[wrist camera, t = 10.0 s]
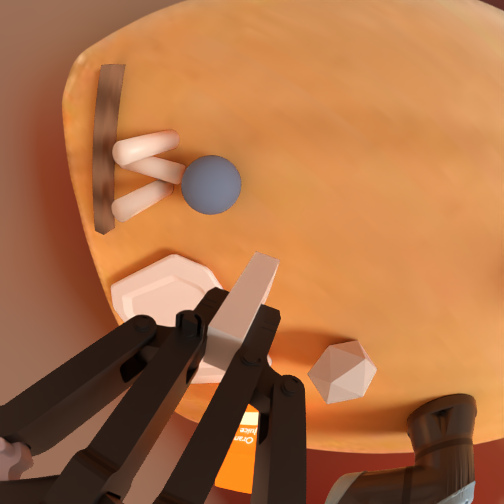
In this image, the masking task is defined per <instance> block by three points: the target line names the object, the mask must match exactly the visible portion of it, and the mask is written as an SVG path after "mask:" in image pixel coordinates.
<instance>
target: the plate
mask: <svg viewBox="0 0 504 504" xmlns="http://www.w3.org/2000/svg"><path fill="white" fill-rule="evenodd" d="M214 287H218V288H221V289H223V288H222V286H221V285H220V283H219V282H218V280H217V279H216V277H215V276H214V274H213V272H212V271H211V270H210V269H209V268H207V267H206V266H204V265H201V264H199V263H196V262H194V261H192V260H189V259H187V258H185V257H182V256H180V255H178V254H171V255H169V256H167V257H165V258H163V259H161V260H159V261H157V262H155V263H153V264H151V265H149V266H147V267H145V268H143V269H141V270H139V271H137V272H135V273H133V274H131V275H129V276H127V277H125V278H123V279H121V280H120V281H118V282H116V283H114V284H112V285H111V295H112V302H113V307H114V309H115V311H116V312H117V313H118V315H119V316H120V317H121V318H122V320H123V321H124V322H126V321H128V320H129V319H131V318H132V317H134V316H136V315H141V314H144V315H149V316H150V317H152V318H153V319H154V320H155V321H156V324H157V325H162V326H168V327H174V326H175V321H176V314H177V313H178V312H180V311H183V310H194V309H195V308H196V306H197V305H198V304H199V303H200V301H201V299H202V298H203V297H204V295H205V294H206V293H207V291H208V290H210V289H212V288H214ZM223 290H224V289H223ZM267 360H268V363H269V365H270V366H271V365H272V359H271V358H270V356H269V355H268V356H267ZM225 372H226V371H223V370H221V369H219V368H216V367H214V366H212V365H209V364H207V363H205V362H203V359H202V360H201V362H200V364H199V369H198V371H197V373H196V375H195V376H194V378H193V380H192V382H191V383H190V384H196V383H220V382H221V380H222V378H223V376H224V374H225Z"/></svg>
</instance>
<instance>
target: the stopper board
mask: <svg viewBox="0 0 504 504" xmlns="http://www.w3.org/2000/svg"><path fill="white" fill-rule="evenodd" d="M124 69H125V65H119V64H108V65H101V70H100V76H99V83H98V91H97V99H96V109H95V120H94V135H93V208H94V223H95V231H97V232H99V233H101V234H103V235H104V234H106V233H107V232H109V231H111V230H112V229H114V228H115V224H114V215H113V213H112V203H113V202H114V165H115V160H114V158H113V154H112V150H113V146H114V144H115V143H116V132H117V120H118V111H119V102H120V95H121V88H122V81H123V75H124Z"/></svg>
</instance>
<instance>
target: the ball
mask: <svg viewBox="0 0 504 504" xmlns="http://www.w3.org/2000/svg"><path fill="white" fill-rule="evenodd" d="M181 189H182V194H183V196H184V199H185V200H186V202H187V203H188V205H189V206H190V207H191V208H193V209H194V210H196V211H198V212H200V213H203V214H209V215H212V214H218V213H222V212H224V211H226V210H227V209H229V208H230V207H231V206H232V205H233V204H234V203H235V202H236V200H237V198H238V196H239V194H240V190H241V179H240V175H239V172H238V170H237V169H236V167H235V166H234V165H233V164H232V163H231V162H230V161H228V160H227V159H225V158H223V157H220V156H214V155H210V156H204V157H201V158H198V159H197V160H195V161H193V162H192V163H191V164H190V165H189V166H188V167H187V169H186V170H185V172H184V174H183V177H182V183H181Z"/></svg>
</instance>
